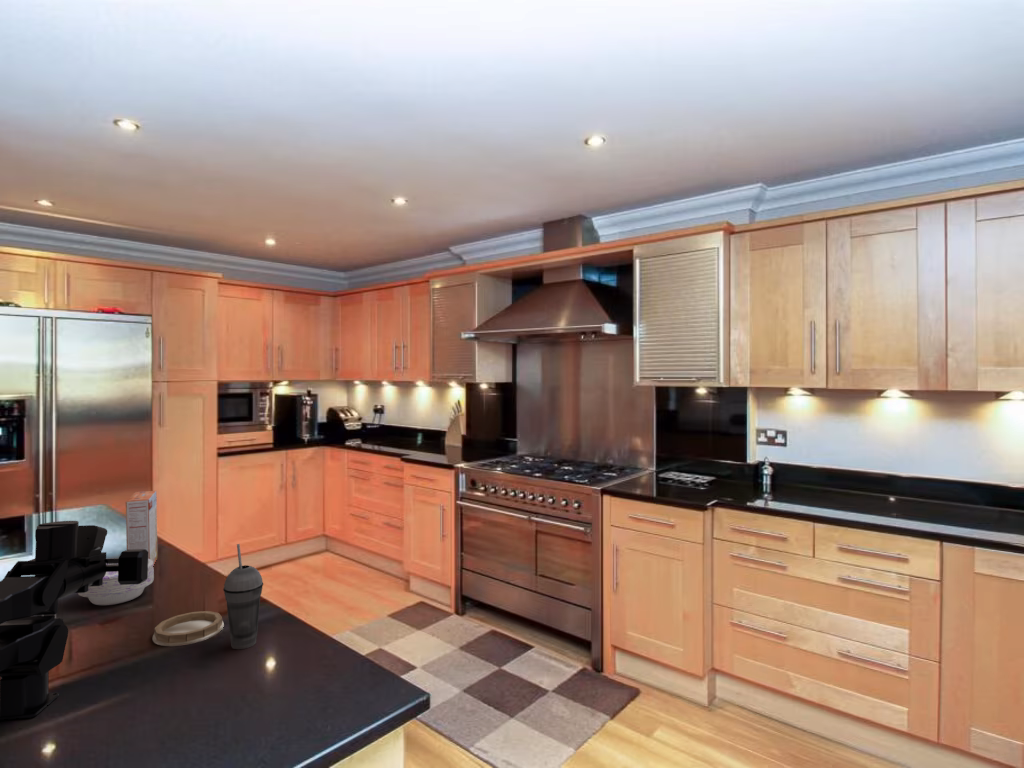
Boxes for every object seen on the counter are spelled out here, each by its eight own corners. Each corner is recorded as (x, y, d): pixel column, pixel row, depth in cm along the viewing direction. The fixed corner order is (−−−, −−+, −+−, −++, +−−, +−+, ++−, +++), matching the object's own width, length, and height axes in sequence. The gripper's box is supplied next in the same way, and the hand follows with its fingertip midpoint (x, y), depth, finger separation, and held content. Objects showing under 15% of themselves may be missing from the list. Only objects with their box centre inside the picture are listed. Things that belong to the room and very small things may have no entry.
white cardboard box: (134, 562, 167) (134, 491, 167) (158, 559, 169) (158, 489, 170) (124, 576, 154) (124, 500, 154) (150, 573, 157) (150, 498, 157)
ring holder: (211, 643, 114) (211, 633, 114) (140, 648, 112) (140, 638, 112) (232, 617, 127) (232, 608, 127) (168, 621, 124) (168, 612, 124)
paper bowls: (75, 616, 128) (74, 581, 128) (80, 595, 141) (80, 563, 141) (154, 601, 136) (154, 568, 136) (153, 583, 149) (153, 553, 149)
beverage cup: (247, 654, 109) (247, 550, 109) (214, 650, 111) (214, 548, 111) (271, 637, 116) (270, 540, 116) (239, 634, 118) (239, 538, 118)
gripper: (124, 531, 102) (168, 516, 118) (13, 534, 100) (73, 519, 116) (121, 594, 101) (167, 571, 117) (10, 598, 100) (71, 574, 115)
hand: (120, 557), depth 116 cm, fingers open, 9 cm apart
